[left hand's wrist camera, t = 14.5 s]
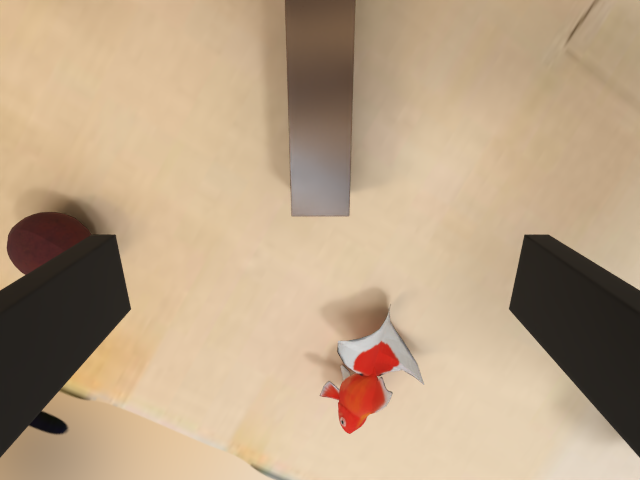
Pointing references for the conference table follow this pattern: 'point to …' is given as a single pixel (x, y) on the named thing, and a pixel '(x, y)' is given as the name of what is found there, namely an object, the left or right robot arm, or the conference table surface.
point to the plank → (320, 104)
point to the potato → (43, 239)
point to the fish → (369, 374)
